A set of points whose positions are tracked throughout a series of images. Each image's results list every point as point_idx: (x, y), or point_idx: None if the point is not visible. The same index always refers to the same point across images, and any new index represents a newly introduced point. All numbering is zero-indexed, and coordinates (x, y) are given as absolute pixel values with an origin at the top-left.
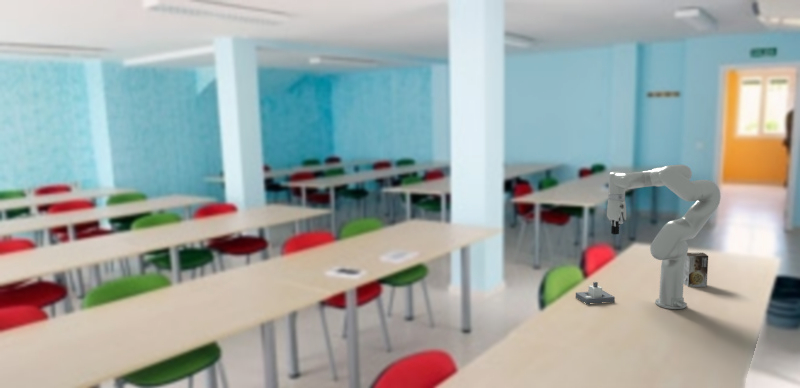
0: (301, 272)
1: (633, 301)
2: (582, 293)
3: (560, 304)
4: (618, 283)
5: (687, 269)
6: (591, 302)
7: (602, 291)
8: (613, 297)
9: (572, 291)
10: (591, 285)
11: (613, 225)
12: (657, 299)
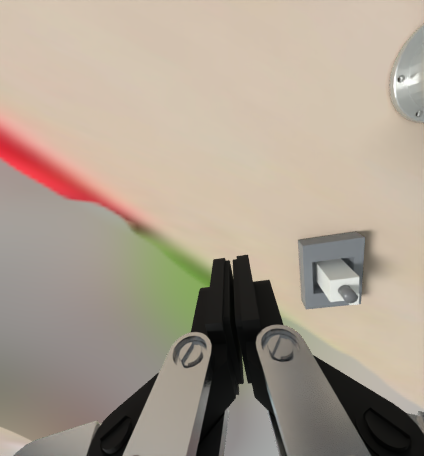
0: None
1: (366, 179)
2: (315, 298)
3: (336, 337)
4: (195, 155)
5: None
6: None
7: (311, 250)
8: (364, 239)
9: None
10: (331, 295)
11: (231, 386)
12: (402, 103)
